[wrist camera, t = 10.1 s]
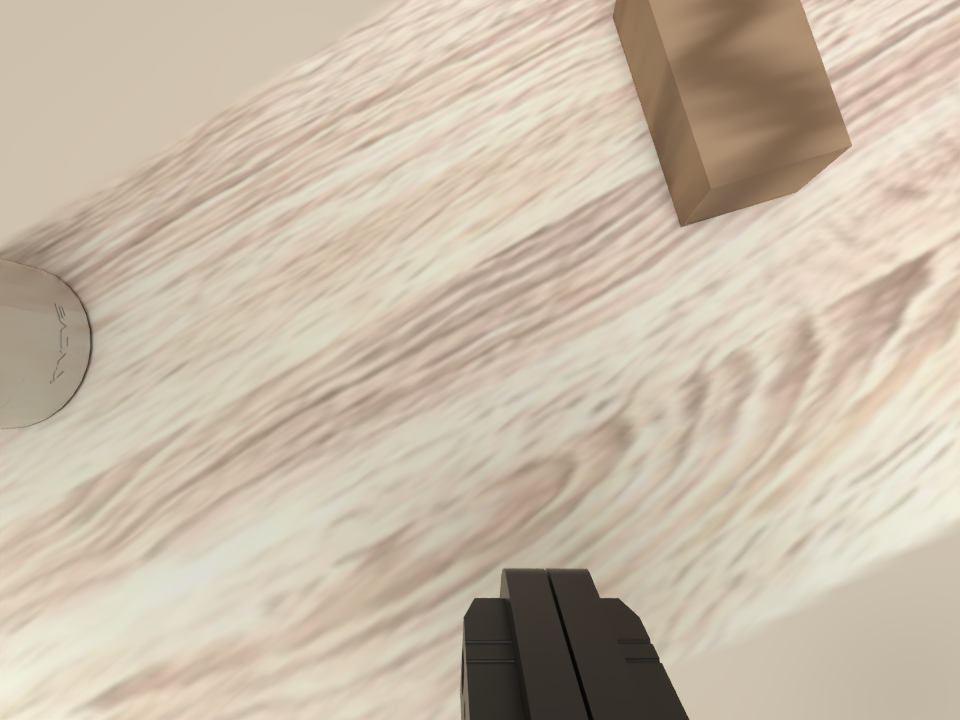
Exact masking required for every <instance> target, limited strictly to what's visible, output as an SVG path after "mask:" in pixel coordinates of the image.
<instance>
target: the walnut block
mask: <svg viewBox="0 0 960 720" xmlns="http://www.w3.org/2000/svg"><path fill="white" fill-rule="evenodd" d="M613 19H614V22H615V25H616V28H617V31H618V34H619V37H620V41H621V44H622V47H623V50H624V53H625V56H626V59H627V62H628V65H629V68H630V71H631V74H632V78H633V81H634V84H635V87H636V90H637V93H638V96H639V99H640V102H641V105H642V108H643V111H644V114H645V118H646V121H647V124H648V127H649V130H650V133H651V136H652V139H653V142H654V145H655V148H656V151H657V155H658V158H659V161H660V164H661V167H662V170H663V173H664V176H665V179H666V182H667V185H668V188H669V192H670V195H671V198H672V201H673V204H674V207H675V210H676V213H677V216H678V219H679V222H680V225H681V227H683V226H686V225H689V224H693V223H696V222H699V221H703V220H706V219H709V218H712V217H716V216H719V215H722V214H726V213H729V212H732V211H736V210H739V209H742V208H746V207H749V206H752V205H756V204H759V203H762V202H765V201H769V200H772V199H775V198H779V197H782V196H785V195H789V194H792V193H795V192H797V191H798V190H799V189H801V188H802V187H803V186H804V185H805V184H807V183H808V182H809V181H810V180H811V179H813V178H814V177H815V176H816V175H817V174H819V173H820V172H821V171H822V170H823V169H825V168H826V167H827V166H828V165H829V164H831V163H832V162H833V161H834V160H835V159H837V158H838V157H839V156H840V155H841V154H843V153H844V152H845V151H846V150H847V149H849V148H850V147H851V146H852V144H851V141H850V138H849V136H848V133H847V130H846V127H845V124H844V122H843V119H842V116H841V113H840V110H839V108H838V105H837V102H836V99H835V96H834V94H833V91H832V88H831V85H830V82H829V79H828V77H827V74H826V71H825V68H824V65H823V63H822V60H821V57H820V54H819V51H818V49H817V46H816V43H815V40H814V37H813V35H812V32H811V29H810V26H809V23H808V21H807V18H806V15H805V12H804V9H803V6H802V4H801V1H800V0H616V5H615V10H614V15H613Z"/></svg>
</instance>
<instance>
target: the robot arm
mask: <svg viewBox="0 0 960 720" xmlns="http://www.w3.org/2000/svg"><path fill="white" fill-rule="evenodd" d="M89 353H90V329H89V325H88V321H87V317H86V313H85V311H84V309H83V307H82V305H81V303H80V301H79V299H78V298H77V296H76V295H75V294H74V293H73V291H72V290H71V289H70V288H69V286H67V285H66V284H65V283H64V282H62V281H61V280H60V279H59V278H57V277H56V276H54V275H52V274H50V273H48V272H45V271H43V270H41V269H37V268H33V267H30V266H26V265H22V264H18V263H15V262H11V261H7V260H4V259H0V429H8V428H19V427H24V426H29V425H33V424H35V423H38V422H40V421H42V420H44V419H47V418H48V417H50V416H51V415H52V414H54V413H55V412H57V411H58V410H59V409H61V408H62V407H63V406H64V405H65V403H66V402H67V401H68V400H69V399H70V398H71V397H72V396H73V394H74V393H75V391H76V389H77V388H78V386H79V384H80V383H81V381H82V378H83V376H84V373H85V370H86V368H87V365H88V359H89ZM460 697H461V719H462V720H689V718H688V716H687V714H686V712H685V710H684V708H683V706H682V704H681V702H680V700H679V698H678V696H677V694H676V691H675V689H674V687H673V686H672V683H671V681H670V679H669V677H668V675H667V673H666V671H665V669H664V667H663V665H662V663H660V662H659V657H658V655H657V652H656V650H655V648H654V646H653V644H651V643H650V638H649V636H648V634H647V632H646V630H645V628H644V626H643V624H642V622H641V620H640V618H639V616H637V615H636V614H635V613H634V612H633V611H632V610H631V609H630V608H629V607H627V606H626V605H625V604H624V603H623V602H622V601H621V600H620V599H619V598H600V597H599V595H598V592H597V590H596V587H595V585H594V582H593V580H592V578H591V575H590V573H589V571H588V570H587V569H546V570H544V569H503V571H502V577H501V591H500V598H475V599H474V600H473V602H472V604H471V606H470V607H469V609H468V611H467V613H466V614H465V616H464V622H463V645H462V667H461V689H460Z"/></svg>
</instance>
